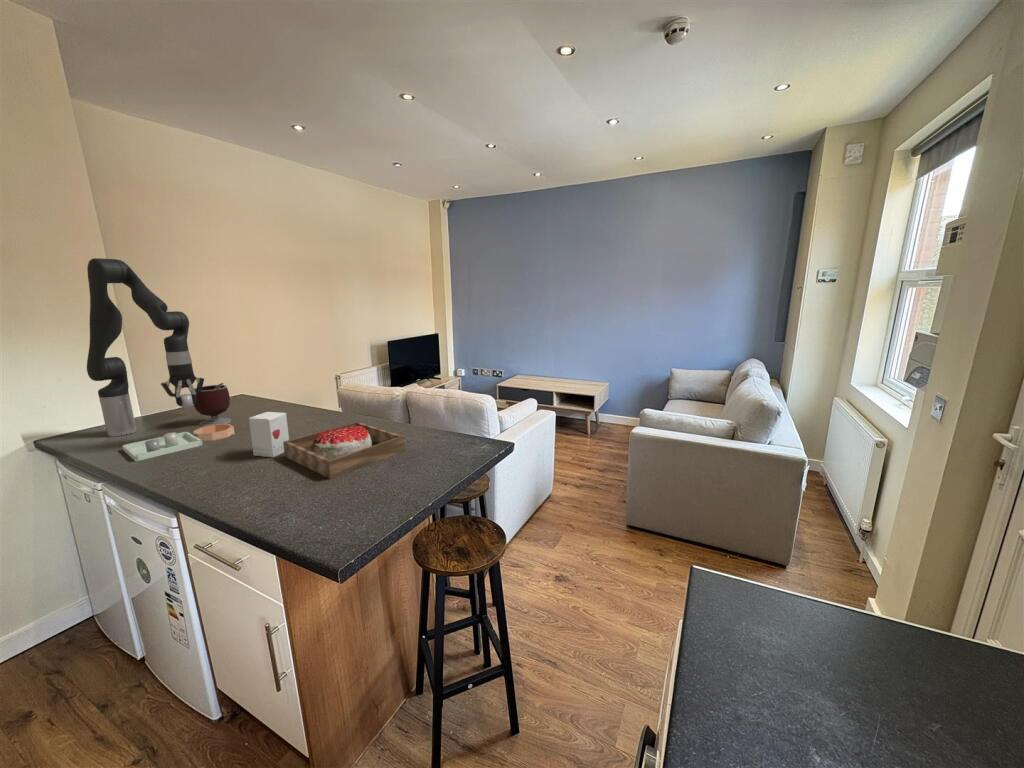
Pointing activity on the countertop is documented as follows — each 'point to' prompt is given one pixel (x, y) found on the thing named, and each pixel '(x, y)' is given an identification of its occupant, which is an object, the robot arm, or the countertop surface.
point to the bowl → (214, 432)
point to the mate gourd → (213, 403)
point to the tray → (161, 446)
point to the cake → (341, 441)
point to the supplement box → (268, 433)
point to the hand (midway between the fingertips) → (187, 404)
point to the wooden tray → (347, 463)
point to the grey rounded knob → (152, 445)
